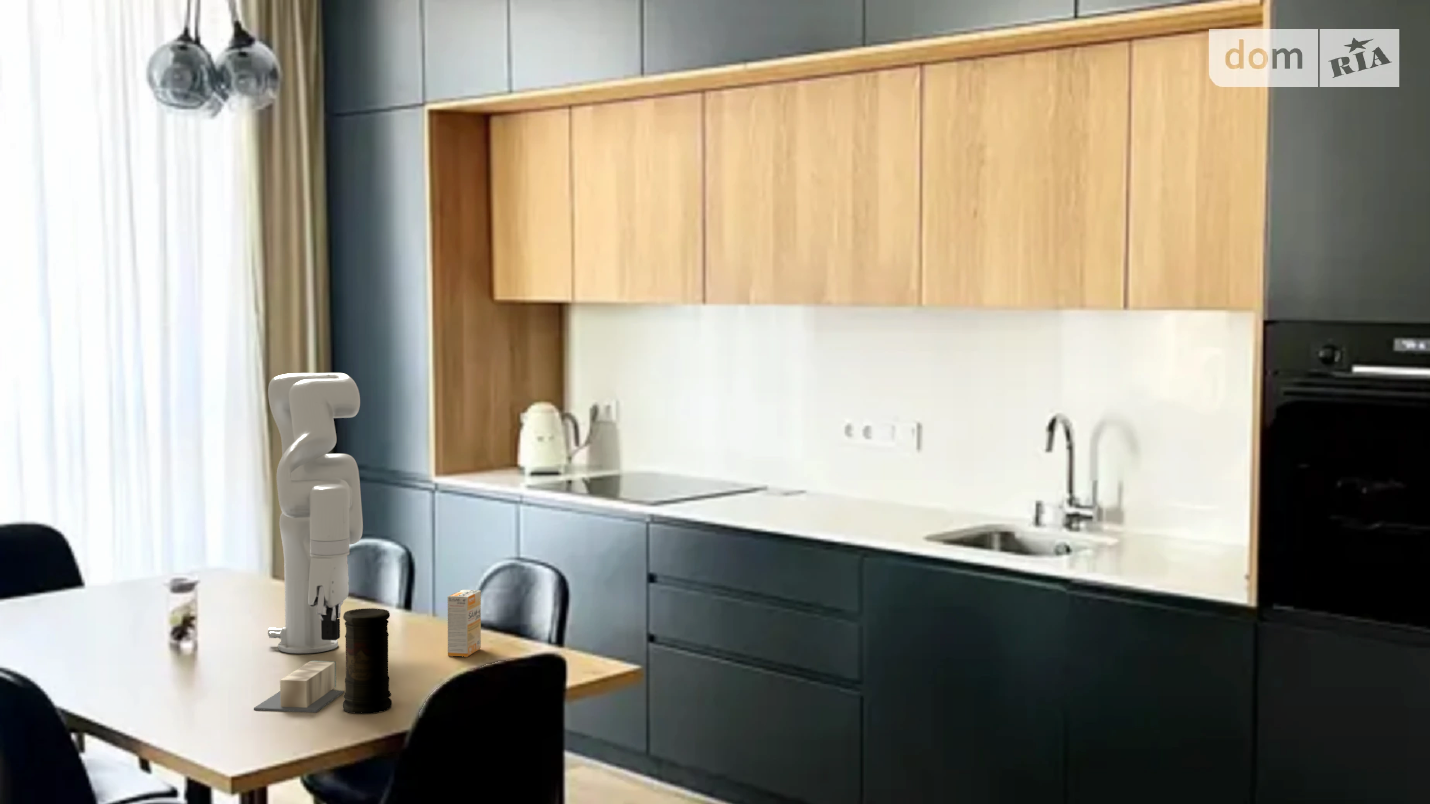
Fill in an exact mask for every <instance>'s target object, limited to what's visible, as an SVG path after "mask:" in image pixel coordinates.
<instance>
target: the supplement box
mask: <svg viewBox="0 0 1430 804" xmlns="http://www.w3.org/2000/svg"><path fill="white" fill-rule="evenodd" d="M481 598H482V591H481V590H478V589H461V590H458V591H456V592H454V593H452V594H450V595H447V656H448V657H453V656H462V657H461V658H469V656H471V655H472V654H474V653H476V652H477V651H479V650H481V649H480V648H482V647H481V646H482V645H481V644H482V643H481V642H482V641H481V640H482V635H481V634H482V633H481V631H482V630H481V629H482V628H481V627H482V623H481V621H482V620H481V619H482V615H481V614H482V611H481V610H482V609H481V605H482V600H481ZM463 656H464V657H463Z"/></svg>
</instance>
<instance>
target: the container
mask: <svg viewBox="0 0 1430 804" xmlns="http://www.w3.org/2000/svg"><path fill="white" fill-rule="evenodd" d="M390 615H391V613H390V610H388V609H382V608H376V607H375V608H373V607H372V608H368V607H367V608H366V607H365V608H357V609H351V610H347V611H345V612H344V613H343V615H342V619H343V620H344V621H345V622H344V626H345V635H344V637H345V677H344V678H345V679H344V683H345V688H344V689H345V690H344V693H343V694H342V695H343V696H342V697H343V699H344V700H343V702H342V705H341V706H342V709H343V710H344V711H345V712H347V713H351V714H354V715H355V714H357V715H359V714H360V715H369V714H377V713H382V712H386V711H388V710H390V709H391V708H392V705H393V701H392V699H391V696H392V692H391V691H390V676H389V632H388V629H389V628H388V625H389V619H390V617H391V616H390Z"/></svg>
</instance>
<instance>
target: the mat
mask: <svg viewBox="0 0 1430 804" xmlns="http://www.w3.org/2000/svg"><path fill="white" fill-rule="evenodd" d="M344 693H345V690H343V689H342V690H337V689H332V690H331V691H329V692H328V693H327V694H325V695H324V696H322V697H321V698H319V699H318V700H317V701H315V702H314V703H312V704H311V705H309V706H308V707H307V708H306V707H281V702H280V691H278V692H276V693H275V694H273V695H271V696H270V697H269V698H267V699H265V700H263V701H262V702H260V703H259V704H258V705H256V706H255V707H253V710H254V711H265V712H266V711H271V712H272V711H273V712H292V713H293V712H295V713H296V712H299V713H318V712H319V711H321V710H323V708H324V707H326V706H327V705H329V704H330V703H332V702H333V701H335V700H336V699H338V698H339V697H340V696H341V695H344Z"/></svg>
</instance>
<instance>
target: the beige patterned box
mask: <svg viewBox="0 0 1430 804" xmlns="http://www.w3.org/2000/svg"><path fill="white" fill-rule="evenodd" d="M336 664H337V663H336V661H329V660H310V661H308V662H307V663H305V664H303V665H302V666H300V667H299V668H297V669H296V670H294V671H292V672H291V673H289V674H287V675H286V676H284V677H282V678H281V679H280V680H279V683H280V684H279V685H280V686H279V689H280V702H281V707H306V708H307V707H308V706H309V705H311V704H312V703H314V702H315V701H317V700H318V699H319V698H321V697H322V696H324V695H325V694H327V693H328V692H329V691H331V690H335V688H336V687H337V665H336Z"/></svg>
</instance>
